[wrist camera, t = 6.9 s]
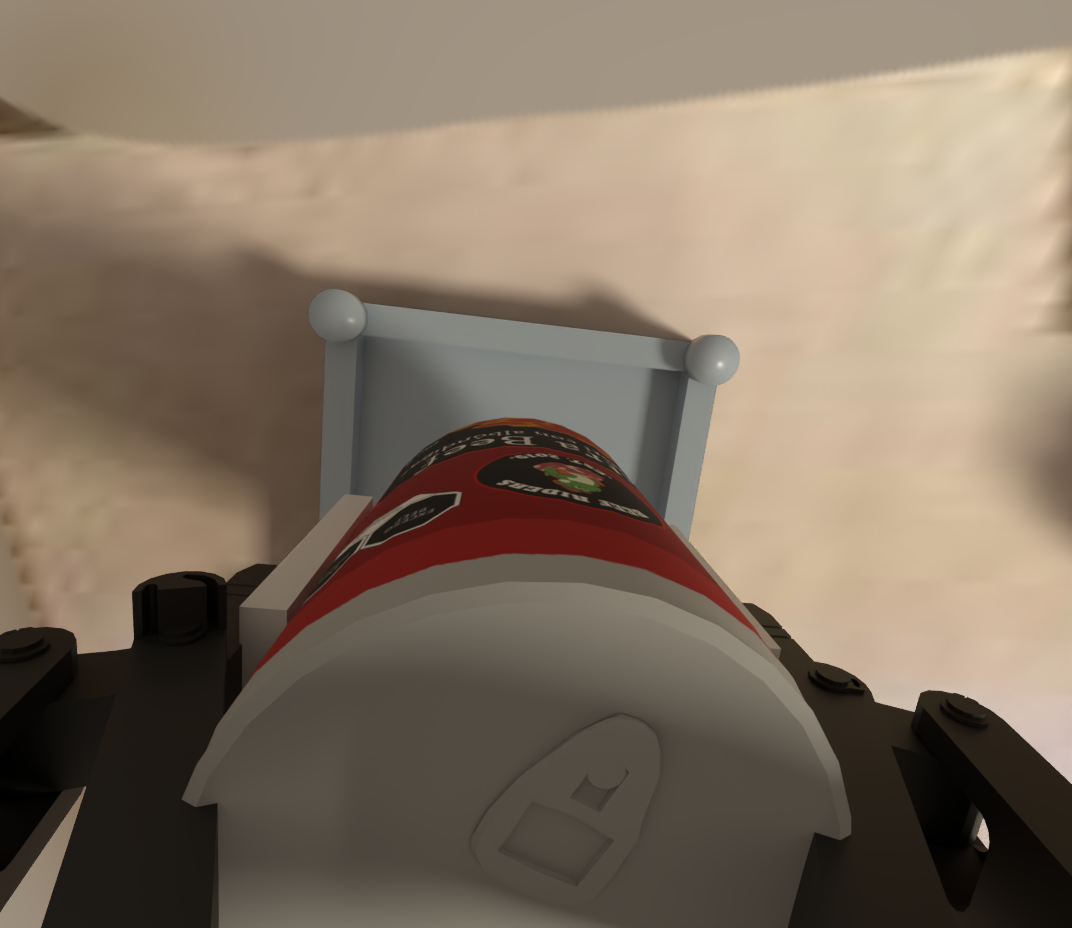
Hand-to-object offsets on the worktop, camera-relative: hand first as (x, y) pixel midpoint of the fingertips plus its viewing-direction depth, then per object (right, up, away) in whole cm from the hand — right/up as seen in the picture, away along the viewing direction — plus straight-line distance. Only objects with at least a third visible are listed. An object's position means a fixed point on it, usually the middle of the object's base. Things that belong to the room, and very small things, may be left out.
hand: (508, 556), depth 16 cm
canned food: (0, 0, +1) cm, 1 cm away
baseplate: (0, +1, +6) cm, 7 cm away
